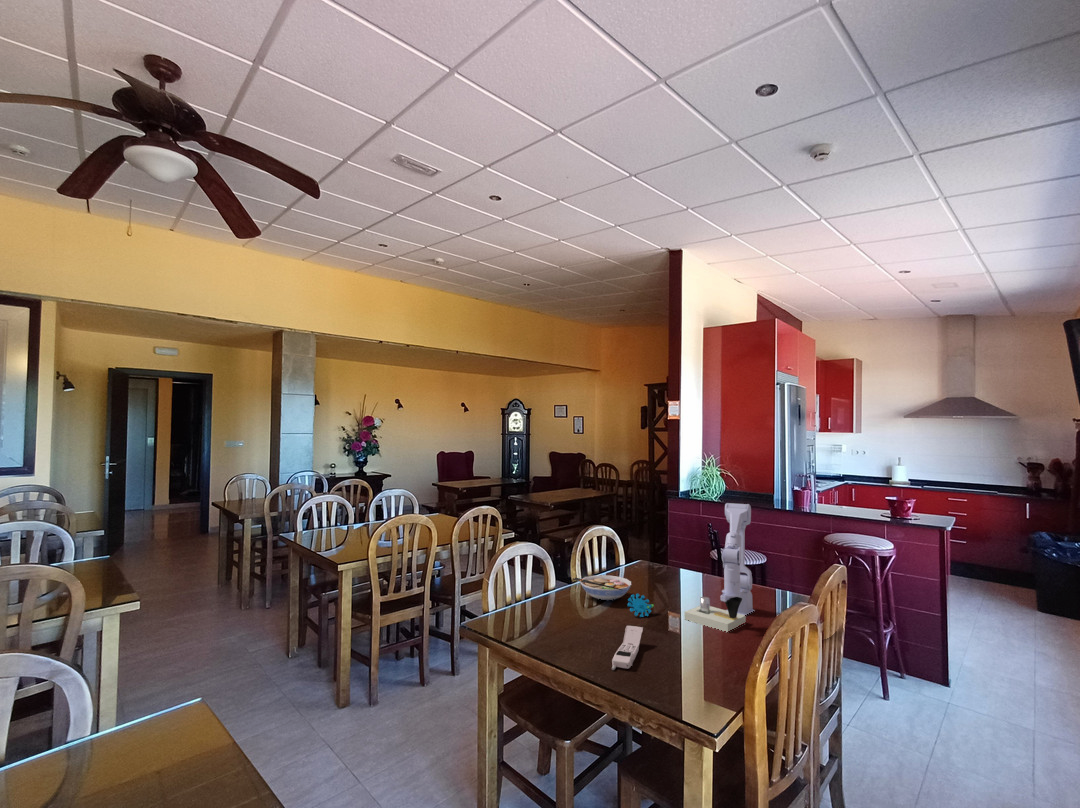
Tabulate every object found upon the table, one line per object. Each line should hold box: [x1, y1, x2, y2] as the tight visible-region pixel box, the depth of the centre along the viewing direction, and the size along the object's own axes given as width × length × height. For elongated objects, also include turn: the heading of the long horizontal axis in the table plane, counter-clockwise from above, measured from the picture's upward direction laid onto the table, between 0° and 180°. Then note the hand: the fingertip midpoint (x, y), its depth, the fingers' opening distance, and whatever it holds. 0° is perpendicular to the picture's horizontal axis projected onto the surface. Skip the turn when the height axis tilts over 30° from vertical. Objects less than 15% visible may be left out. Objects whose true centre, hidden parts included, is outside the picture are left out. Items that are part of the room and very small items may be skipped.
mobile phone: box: [611, 625, 644, 671], centre depth 168 cm, size 6×6×25 cm
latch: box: [714, 612, 737, 620], centre depth 197 cm, size 8×3×1 cm, turn 42°
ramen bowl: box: [572, 574, 632, 601], centre depth 228 cm, size 25×23×8 cm
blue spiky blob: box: [627, 593, 654, 618], centre depth 209 cm, size 11×6×10 cm
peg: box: [699, 596, 711, 614], centre depth 203 cm, size 4×4×8 cm
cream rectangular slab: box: [684, 605, 747, 633], centre depth 200 cm, size 14×18×3 cm
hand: (732, 617), depth 194 cm, fingers closed
